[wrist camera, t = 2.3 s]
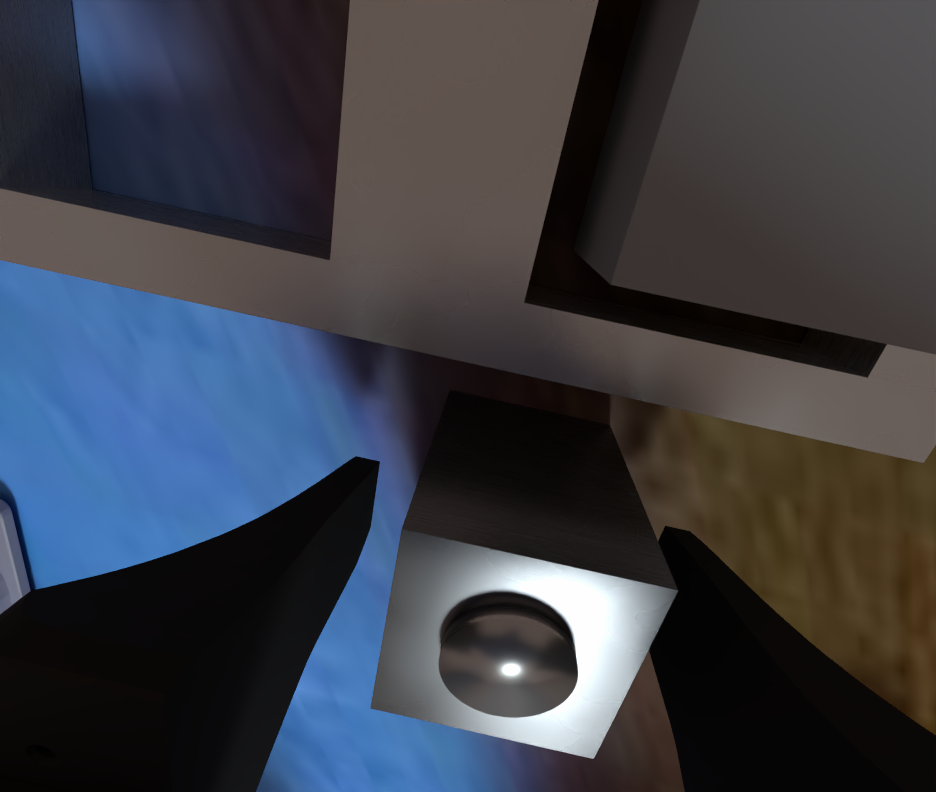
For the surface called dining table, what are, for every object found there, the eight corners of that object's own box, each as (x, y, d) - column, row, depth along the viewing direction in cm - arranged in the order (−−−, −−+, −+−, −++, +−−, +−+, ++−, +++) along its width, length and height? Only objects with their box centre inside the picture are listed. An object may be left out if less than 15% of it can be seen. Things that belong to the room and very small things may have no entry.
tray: (25, 234, 12) (-81, 242, 10) (-74, -343, 8) (-283, -534, 6) (849, 414, 12) (923, 462, 10) (1146, -93, 8) (1376, -199, 6)
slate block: (573, 250, 11) (610, 284, 7) (642, -6, 9) (763, -203, 5) (777, 293, 11) (954, 358, 7) (891, 45, 9) (1249, -102, 5)
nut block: (424, 518, 15) (365, 723, 9) (450, 389, 13) (397, 541, 7) (565, 550, 15) (595, 776, 9) (609, 424, 13) (684, 606, 7)
